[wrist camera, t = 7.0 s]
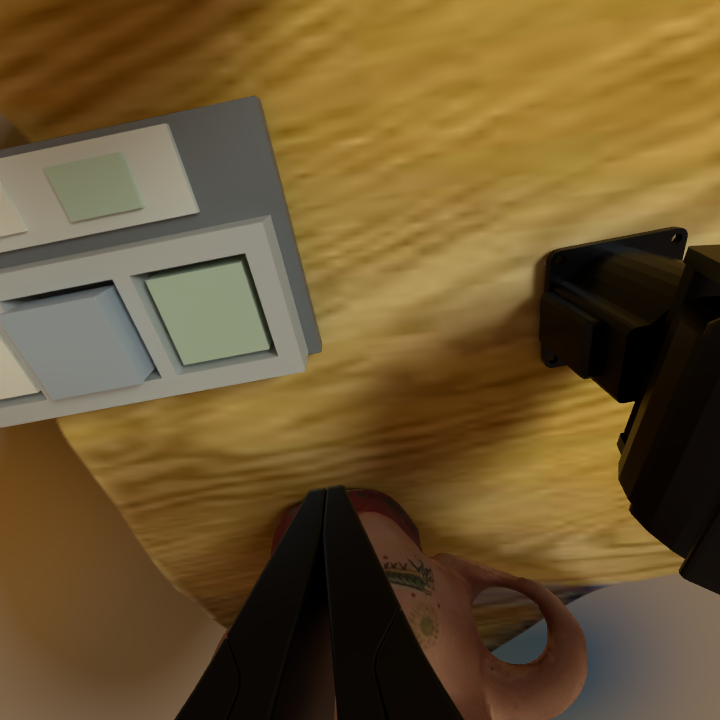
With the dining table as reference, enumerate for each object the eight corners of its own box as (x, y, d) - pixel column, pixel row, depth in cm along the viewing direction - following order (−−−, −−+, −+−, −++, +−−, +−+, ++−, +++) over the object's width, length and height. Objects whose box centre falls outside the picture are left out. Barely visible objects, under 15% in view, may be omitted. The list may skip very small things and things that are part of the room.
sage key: (248, 253, 17) (240, 261, 15) (274, 334, 19) (269, 349, 17) (161, 270, 17) (145, 280, 16) (195, 349, 19) (184, 365, 17)
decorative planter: (477, 407, 23) (638, 696, 11) (522, 528, 28) (664, 809, 16) (197, 517, 26) (74, 837, 14) (287, 606, 31) (256, 893, 19)
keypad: (260, 99, 15) (243, 87, 13) (322, 343, 20) (319, 371, 18) (-186, 193, 16) (-290, 200, 13) (-15, 406, 21) (-66, 442, 18)
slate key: (115, 284, 16) (94, 296, 15) (156, 365, 18) (141, 383, 16) (25, 302, 16) (-5, 316, 15) (75, 381, 18) (53, 400, 17)
